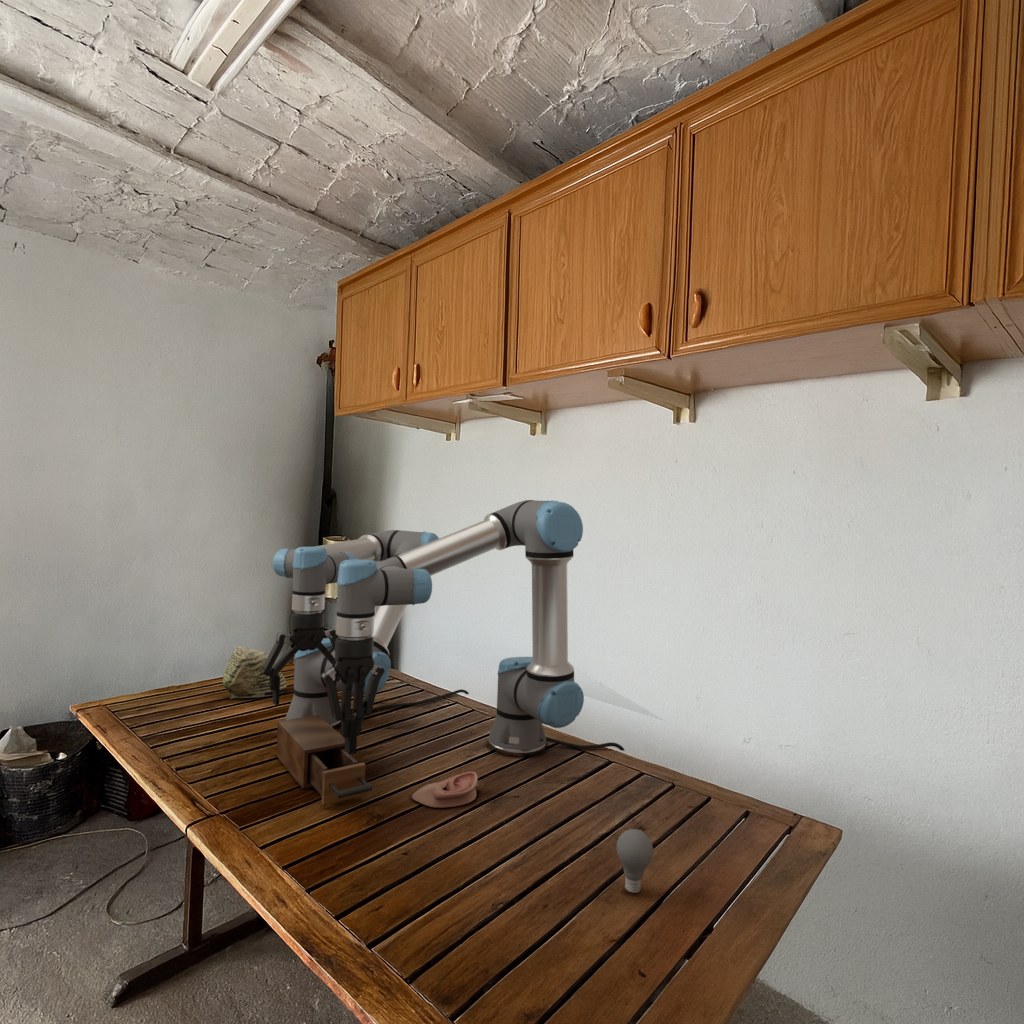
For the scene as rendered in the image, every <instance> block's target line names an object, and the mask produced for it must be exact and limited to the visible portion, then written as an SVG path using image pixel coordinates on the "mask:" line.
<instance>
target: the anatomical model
mask: <svg viewBox="0 0 1024 1024" xmlns="http://www.w3.org/2000/svg"><path fill="white" fill-rule="evenodd" d="M478 777H479V776H478V775H477V772H475V771H466V772H463V773H462V772H461V773H459V774H456V775H454V776H451V777H448V778H445V779H444V780H441V781H438V782H433V783H429V784H426V785H424V786H421V788H419V789H417V790H416V791H414V792H413V794H412V795H411V799H412V800H414V801H415V802H417V803H419V804H421V805H423V806H427V807H428V808H429V807H430V808H435V809H439V808H452V807H459V806H464V805H466V804H469V803H471V802H473V801H474V800H475V799H476V798H477V795H478V794H477V789H476V787H477V786H478V783H479V782H478V781H479V778H478Z"/></svg>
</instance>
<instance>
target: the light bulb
mask: <svg viewBox="0 0 1024 1024" xmlns="http://www.w3.org/2000/svg"><path fill="white" fill-rule="evenodd" d="M615 849H616V854H617V857H618V859H619V861H620V863H621V865H622V867H623V873H624V874H623V875H624V876H625V878H624V888H625V890H627V891H628V892H630V893H634V894H635V893H639V892H640V891H641V889H642V887H641V886H642V879H643V877H644V875H645V871H646V868H647V867H648V866H649V864H650V863H651V861H652V859H653V855H654V847H653V843H652V841H651V838H649V836H648V835H647V834H646V833H645V832H643V831H642V830H641V829H636V828H629V829H627V830H625V831H623V832H622V833H621V834H620V835H619V837H618V839H617V841H616V847H615Z"/></svg>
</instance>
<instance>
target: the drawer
mask: <svg viewBox="0 0 1024 1024" xmlns="http://www.w3.org/2000/svg"><path fill="white" fill-rule="evenodd" d="M307 780H308V781H309V782H310V783H311V784H312V786H313V787H312V788H314V789H315V791H316V792H317V793H318V794H319V795H320V796H321V804H322V806H327V805H332V804H335V803H340V802H343V801H348V800H352V799H355V798H359V797H363V796H365V793H367V792H370V791H373V785H372V783H368V782H367V781H366V763H365V762H359V763H358V760H357V759H355V758H354V757H353V756H352V754H351V755H349V754H348V753H347V752H346V751H345V750H344V749H343V748H342V747H339V748H334V749H329V750H323V751H318V752H313V753H308V773H307Z"/></svg>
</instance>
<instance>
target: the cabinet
mask: <svg viewBox="0 0 1024 1024" xmlns="http://www.w3.org/2000/svg"><path fill="white" fill-rule="evenodd" d="M276 729H277V730H276V731H277V732H276V733H277V734H276V735H277V736H276V757H277V758H278V760H279V761H280V762H281V763H282V765H283V766H284V767H285V769H286V770H287V771H288V772H289V773H290V775H291V776H292V777H293V778H294V780H295V782H297V783H298V785H299V786H300V787H301V788H302V790H306V789H311V788H314V787H313V786H312V784H311V783H310V782H309V781H308V780H307V773H308V753H313V752H318V751H323V750H329V749H334V748H339V747H342V748H343V749H344V745H345V738H344V737H342V735H341V733H339V732H338V730H336V729H335V728H333V727H332V726H330V725H329V724H328V723H327V722H326V721H325V720H324V719H323V718H322V717H320V716H319V715H313V716H307V717H301V718H295V719H289V720H286V719H283V720H278V721H277V728H276Z"/></svg>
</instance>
